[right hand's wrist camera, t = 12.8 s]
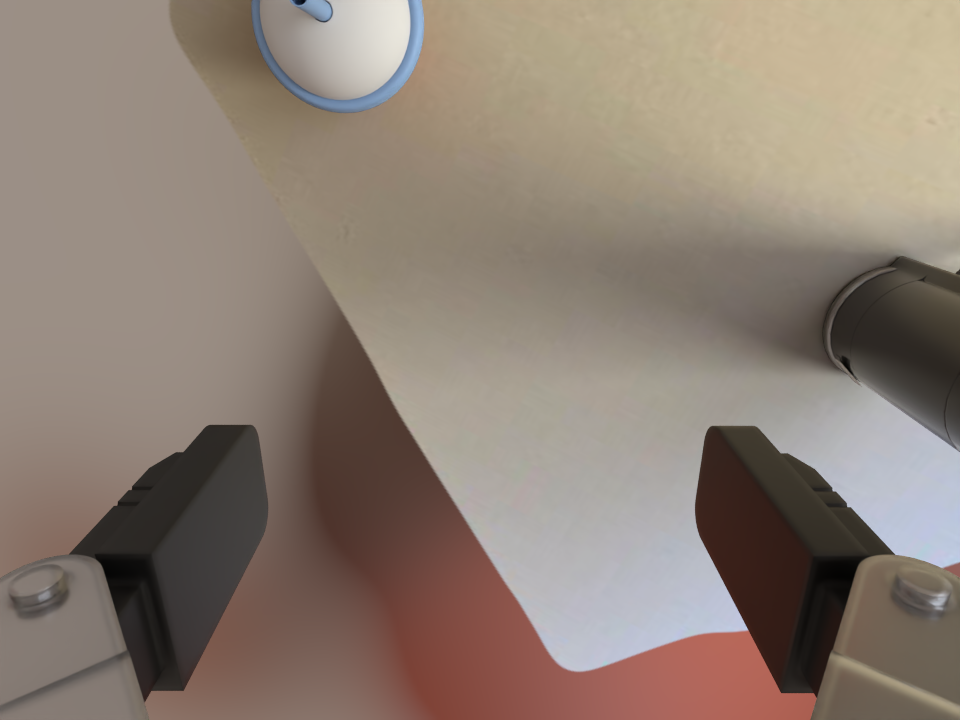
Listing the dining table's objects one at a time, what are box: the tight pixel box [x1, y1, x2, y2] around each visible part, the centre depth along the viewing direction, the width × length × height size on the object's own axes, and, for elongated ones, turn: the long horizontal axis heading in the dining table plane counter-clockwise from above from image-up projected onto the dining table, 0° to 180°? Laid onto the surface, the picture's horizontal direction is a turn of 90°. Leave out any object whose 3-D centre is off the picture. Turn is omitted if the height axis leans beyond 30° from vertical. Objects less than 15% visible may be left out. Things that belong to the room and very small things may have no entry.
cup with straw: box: [251, 0, 424, 113], centre depth 34 cm, size 9×9×18 cm
